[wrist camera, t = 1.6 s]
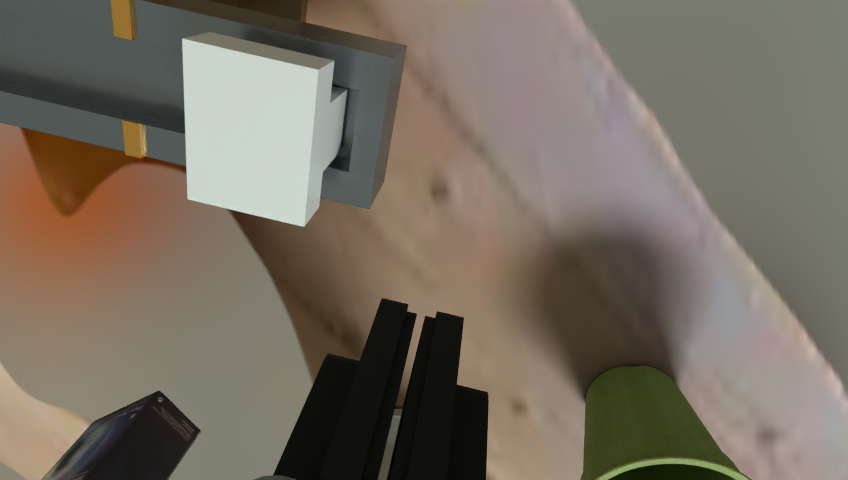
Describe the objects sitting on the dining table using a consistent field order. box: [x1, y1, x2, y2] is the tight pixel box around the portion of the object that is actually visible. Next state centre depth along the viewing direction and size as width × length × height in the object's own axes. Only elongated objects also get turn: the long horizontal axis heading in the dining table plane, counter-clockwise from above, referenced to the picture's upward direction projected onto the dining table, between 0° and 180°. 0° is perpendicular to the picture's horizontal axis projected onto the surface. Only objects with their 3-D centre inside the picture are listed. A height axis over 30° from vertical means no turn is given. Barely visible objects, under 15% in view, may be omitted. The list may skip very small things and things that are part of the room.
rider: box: [182, 32, 347, 227], centre depth 22 cm, size 5×6×5 cm
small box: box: [41, 391, 201, 480], centre depth 48 cm, size 11×6×10 cm, turn 123°
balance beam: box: [0, 0, 407, 209], centre depth 28 cm, size 23×12×12 cm, turn 79°
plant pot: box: [581, 365, 751, 480], centre depth 38 cm, size 12×12×11 cm
